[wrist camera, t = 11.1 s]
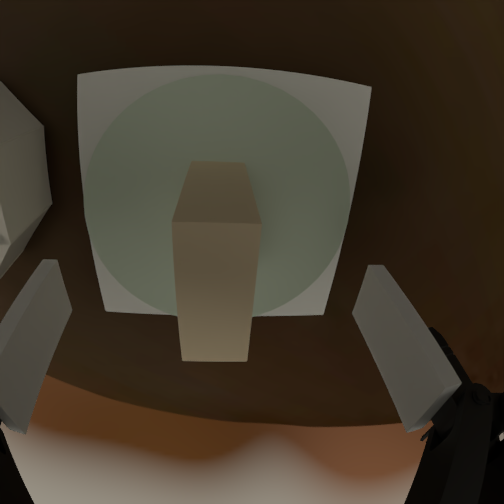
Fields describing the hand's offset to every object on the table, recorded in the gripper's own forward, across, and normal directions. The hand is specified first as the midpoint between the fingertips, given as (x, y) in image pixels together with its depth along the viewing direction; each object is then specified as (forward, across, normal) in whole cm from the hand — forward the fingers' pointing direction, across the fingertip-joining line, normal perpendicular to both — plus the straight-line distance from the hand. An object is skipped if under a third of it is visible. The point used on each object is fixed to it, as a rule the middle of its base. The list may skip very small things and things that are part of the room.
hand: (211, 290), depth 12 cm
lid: (+9, 0, 0) cm, 9 cm away
